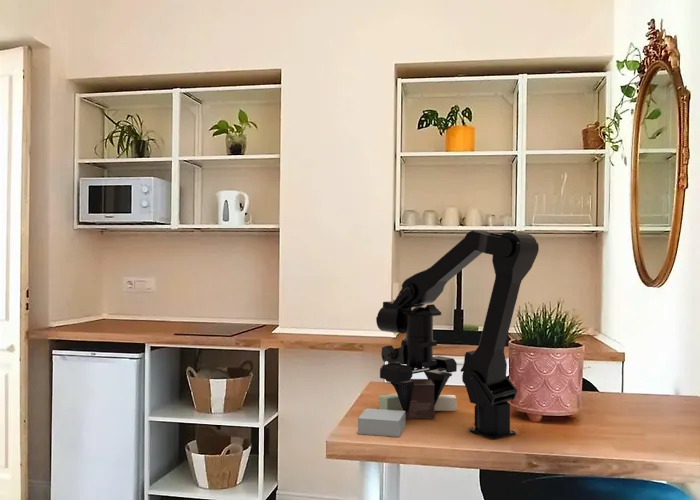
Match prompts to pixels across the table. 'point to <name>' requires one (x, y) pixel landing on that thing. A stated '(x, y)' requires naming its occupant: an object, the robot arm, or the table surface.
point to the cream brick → (445, 403)
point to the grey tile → (381, 422)
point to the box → (421, 399)
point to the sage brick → (389, 402)
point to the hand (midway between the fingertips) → (419, 408)
